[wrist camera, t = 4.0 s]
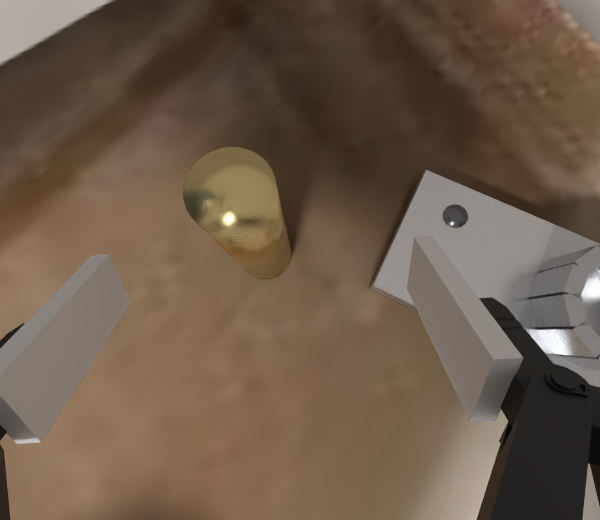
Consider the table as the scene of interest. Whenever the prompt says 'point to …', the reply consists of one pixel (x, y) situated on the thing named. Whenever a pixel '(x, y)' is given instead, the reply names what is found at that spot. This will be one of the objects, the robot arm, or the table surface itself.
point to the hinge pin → (240, 209)
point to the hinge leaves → (506, 267)
